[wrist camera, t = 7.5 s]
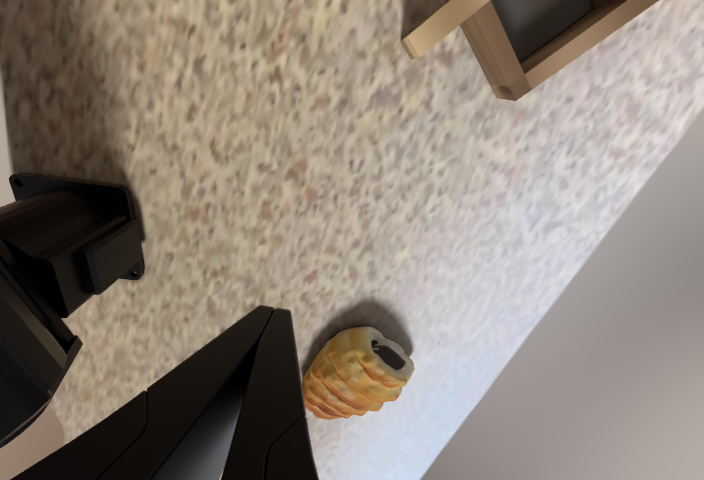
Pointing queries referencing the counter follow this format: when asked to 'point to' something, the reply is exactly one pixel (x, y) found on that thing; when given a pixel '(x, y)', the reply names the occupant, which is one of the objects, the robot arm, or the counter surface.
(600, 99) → the counter surface
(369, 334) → the pastry
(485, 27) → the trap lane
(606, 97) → the counter surface
